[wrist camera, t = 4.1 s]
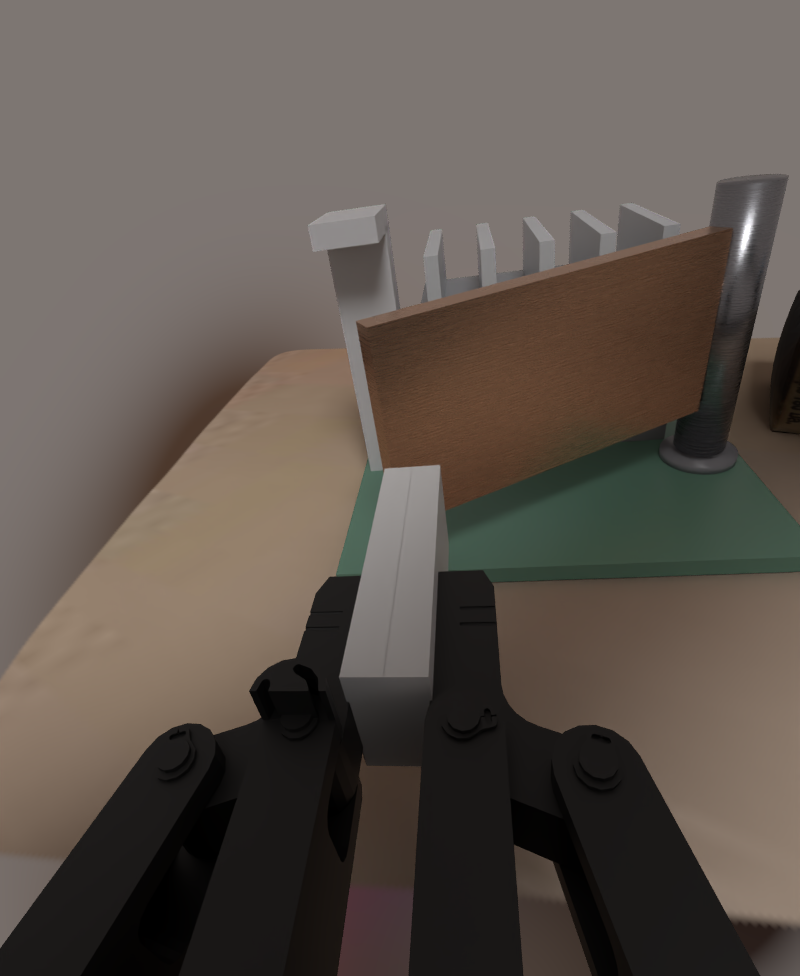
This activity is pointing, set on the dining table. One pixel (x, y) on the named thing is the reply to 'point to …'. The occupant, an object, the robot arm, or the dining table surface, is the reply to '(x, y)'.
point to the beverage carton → (787, 376)
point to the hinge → (576, 353)
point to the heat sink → (579, 483)
